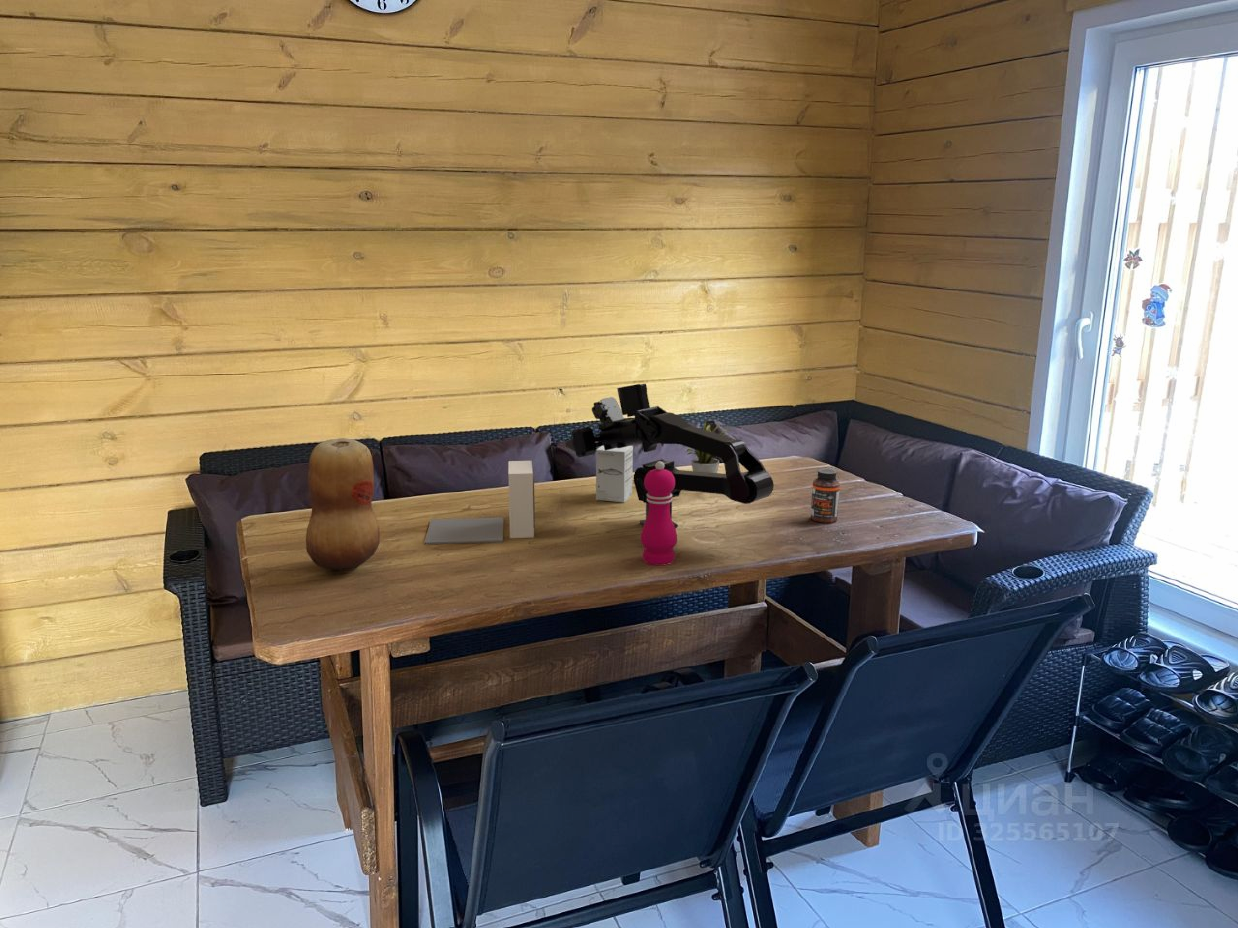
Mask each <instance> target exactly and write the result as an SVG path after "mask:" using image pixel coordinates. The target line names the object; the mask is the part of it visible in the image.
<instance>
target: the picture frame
mask: <svg viewBox="0 0 1238 928" xmlns="http://www.w3.org/2000/svg"><path fill="white" fill-rule="evenodd" d="M532 462H533V461H532V460H511V461H510V460H509V461H508V474H507V475H508V508H509V509H508V512H509V515H508V516H509V539H523V538H525V539H527V538H535V532H534V531H535V529H536V519H535V518H536V516H535V514H536V512H535V509H536V508H535V507H536V506H535V475H534V468H533V463H532Z"/></svg>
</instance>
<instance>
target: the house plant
mask: <svg viewBox="0 0 1238 928" xmlns="http://www.w3.org/2000/svg"><path fill="white" fill-rule="evenodd" d="M720 425H721V423H719V424H718V425H716V426H715V428H713V430H711V424H708V425H707V422H706V421H704V423H703V430H707V431H710V432H713V433H715V432H716V430H717V429H718V428H719V427H720ZM728 430H729V428H727V429H723V430H722V431H721V432H719V433H718V434H719V435H722V436H726V435H727V433H725V432H726V431H728ZM692 452H693V454H694V455H695V456H696V458H693V459H691V467H692V468H691V470H692V471H697V472H709V473H718V471H719V466H720V460H719V459H717V458H716V456H713V455H710V454H707V453H704V452H701V451H698V450H695V449H692V448H688V449H687V450H686V451H685V453H686V454H687V455H690V454H692Z"/></svg>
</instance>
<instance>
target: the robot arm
mask: <svg viewBox="0 0 1238 928" xmlns="http://www.w3.org/2000/svg"><path fill="white" fill-rule="evenodd" d="M616 389H617V396H618V400H619V403H618V401H617V399H616V398H614V397H613V396H611V397H610V396H609V397H604V398H602V399H601V400H599V401H596V402H593V406H592V407H591V412H592V414H593V417H594V418H595V420H599V421H600V422H601V423H598V424H597V426H598V430H599V433H597V434H594V430H593V429H592V428H591V427H590V426H586V427H580V428H576V429H572V431H571V436H572V438H570V439H569V440H567V441H565V447H566V448H568V449H570V451H571V450H572V451H573V452H575V455H576V456H575V457H577V458H583V457H588V456H591V455H594V454H596V450H597V449H598V448H599V447H601V446H604V449H605V450H610V449H614V448H623V447H627V446H639V445H642V450H643V453H648V452H652V451H656V449H657V446H658V444H663V445H680V446H684V447H687V448H688V449H691V450H694V449H695V450H698V451H701V452H704V453H707V454H710V455H711V456H712V455H713V456H712V457H714V456H715V458H720V459H721V461H722V463H723V465H724V471H725V473H720V472H719V473H718V472H717V473H709V472H697V471H693V470H684V469H683V470H682V469H678V468H676V467H675V460H668V461H667V460H665V459H663V458H660V459H657V460H654V461H650V462H647V463H643V464H642V466H641V467H637V468H636V470H635V471H634V472H633V483H634V487H635V491H636V494H637V498H638V500H639V501H641V502H643V503H645V519H641V520H639V523H640V524H641V525H643V526H644V524H645V522H646V520H647V517H648V512H649V502H648V501H647V493H648V491H647V490H646V488H645V486H644V480H645V476H646V474H647V473H648V472H650V471H651V470H654V469H656V467H655V465H656V463H657V462H659V461H661V462H663V463H664V469H666V470H668V471H670V472H671V473H672V474H673V476H674V478H675V487H674V489H673V490H672V491H671V493H672V499H673V498H675V497H676V498H677V497H679V496H680V494H681V492H682V491H683V492H684V491H685V492H696V493H704V494H705V493H706V494H714V495H716V494H717V495H723V496H726V497H727V498H728V499H730V500H731V501H734V502H738V503H741V504H744V505H749V504H751V503H755V502H757V501H761V500H762V499H766V498H768V497H769V496H771V494H772V493H773V491H774V485H775V484H774V480H773V478H772V476H771V475H770V474H769V472H768V471H767V469H766V468H765V466H764V465H763V462H761V460H759V459H758V458H757V456H755V455H754V453H752V451H750V449H749V448H748V445H747V444H746V443H745V442H744V440H741V439H739V438H737V439H736V438H731V437H730V436H726V435H723V434H722V435H723V436H722V435H719V434H720V433H715V432H714V433H713V432H712V431H711V432H710V431H707V430H704V428H699V427H697V426H693V425H692V424H690V423H688V422H687V421H686V419H685V418H683V417H681V416H680V415H677V414H676V413H673V412H670V411H669V412H667V411H666V410H665V409H663V408H662V407H660V406H659V405H655V406H651V405H650V401H649V396H648V387H647V383H636V384H632V385H631V384H630V385H626V386H621V387H617V388H616ZM624 416H626V418H624ZM632 417H634V418H632ZM695 450H694V451H695ZM740 465H741V466H742V467H743V468H744V469H746V471H741V467H740ZM670 515H671V519H673V501H672V502H670ZM672 522H673V524H674V527H675V528H678V527H679V526H678V523H676V522H674V521H673V520H672Z"/></svg>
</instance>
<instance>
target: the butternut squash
mask: <svg viewBox="0 0 1238 928" xmlns="http://www.w3.org/2000/svg"><path fill="white" fill-rule="evenodd" d="M374 473H375V472H374V462H373V456H372V454H371V451H370V449H369V448H368V446H366V445H365V444H363V443H362V442H360V441H357V440H355V439H351V438H345V437H339V438H332V439H327V440H323V441H321V442H319V443H318V444H317V445H316V446H315V447H314V448H313V450H312V452H311V454H310V456H309V462H308V473H307V485H308V489H309V490H308V491H309V499H310V503H311V513H310V518H309V520H308V521H309V522H308V524H307V527H306V533H305V544H306V545H305V548H306V553H307V555H308V556H309V558H310V559H311V560H312V562H313V563H314V564H315V565H316V566H318V567H320V568H322V569H324V570H331V569H333V570H332V571H339V570H338V569H340V571H351V570H354V569H357V568H358V567H359V566H361V565H362V564H364V563H365V562H367V561H368V560H369V559H370V558H371V557H372V556H374V555H375V553H376V551H378V548H379V545H380V541H381V540H380V537H381V536H380V535H381V533H380V532H381V531H380V526H379V522H378V519H377V516H376V514H375V511H374V509H373V506H372V501H373V496H374V492H375V489H374V488H375V476H374Z"/></svg>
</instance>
